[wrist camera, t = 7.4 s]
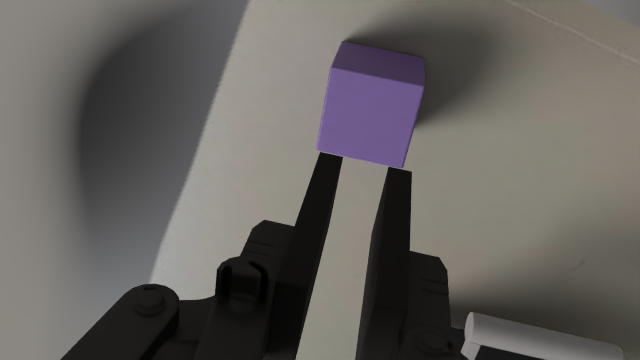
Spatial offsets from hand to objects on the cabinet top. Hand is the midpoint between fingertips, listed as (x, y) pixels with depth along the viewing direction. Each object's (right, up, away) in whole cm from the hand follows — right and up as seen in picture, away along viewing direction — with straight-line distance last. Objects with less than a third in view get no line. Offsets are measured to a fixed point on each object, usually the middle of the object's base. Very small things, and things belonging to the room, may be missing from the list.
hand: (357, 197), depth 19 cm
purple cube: (+1, +5, +9) cm, 10 cm away
